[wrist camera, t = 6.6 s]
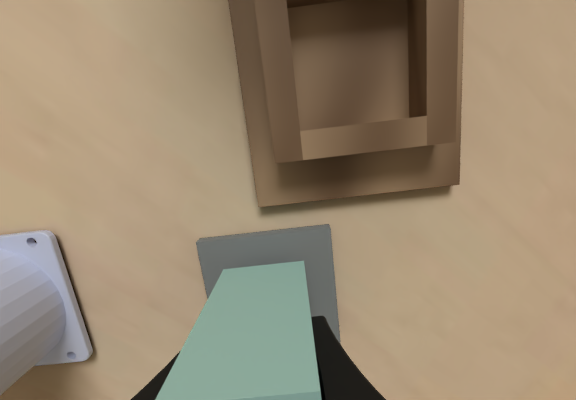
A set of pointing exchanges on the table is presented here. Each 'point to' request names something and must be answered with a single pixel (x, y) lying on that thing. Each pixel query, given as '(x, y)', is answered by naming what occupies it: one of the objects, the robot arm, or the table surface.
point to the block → (250, 340)
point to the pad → (278, 261)
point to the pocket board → (350, 95)
